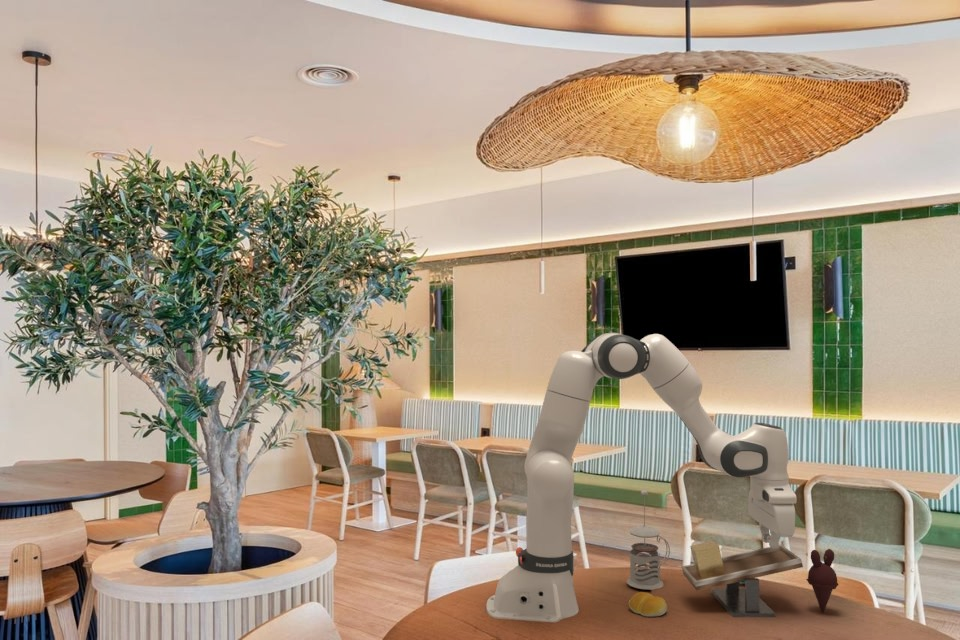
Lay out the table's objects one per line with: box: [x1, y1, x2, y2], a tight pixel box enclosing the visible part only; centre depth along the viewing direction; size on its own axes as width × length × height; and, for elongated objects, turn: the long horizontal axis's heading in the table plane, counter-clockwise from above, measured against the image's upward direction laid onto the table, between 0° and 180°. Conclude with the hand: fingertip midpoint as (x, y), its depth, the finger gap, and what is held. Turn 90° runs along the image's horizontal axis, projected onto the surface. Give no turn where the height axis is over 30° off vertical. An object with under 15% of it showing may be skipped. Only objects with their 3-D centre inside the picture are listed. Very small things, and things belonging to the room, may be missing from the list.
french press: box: [626, 489, 671, 590], centre depth 190 cm, size 10×12×25 cm
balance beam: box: [681, 544, 804, 592], centre depth 174 cm, size 26×12×3 cm, turn 89°
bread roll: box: [628, 591, 668, 618], centre depth 169 cm, size 8×9×4 cm
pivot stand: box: [711, 577, 777, 618], centre depth 174 cm, size 10×16×9 cm, turn 179°
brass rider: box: [689, 540, 725, 579], centre depth 174 cm, size 6×4×7 cm, turn 89°
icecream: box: [806, 548, 839, 613], centre depth 169 cm, size 7×7×15 cm
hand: (770, 544), depth 174 cm, fingers open, 3 cm apart
